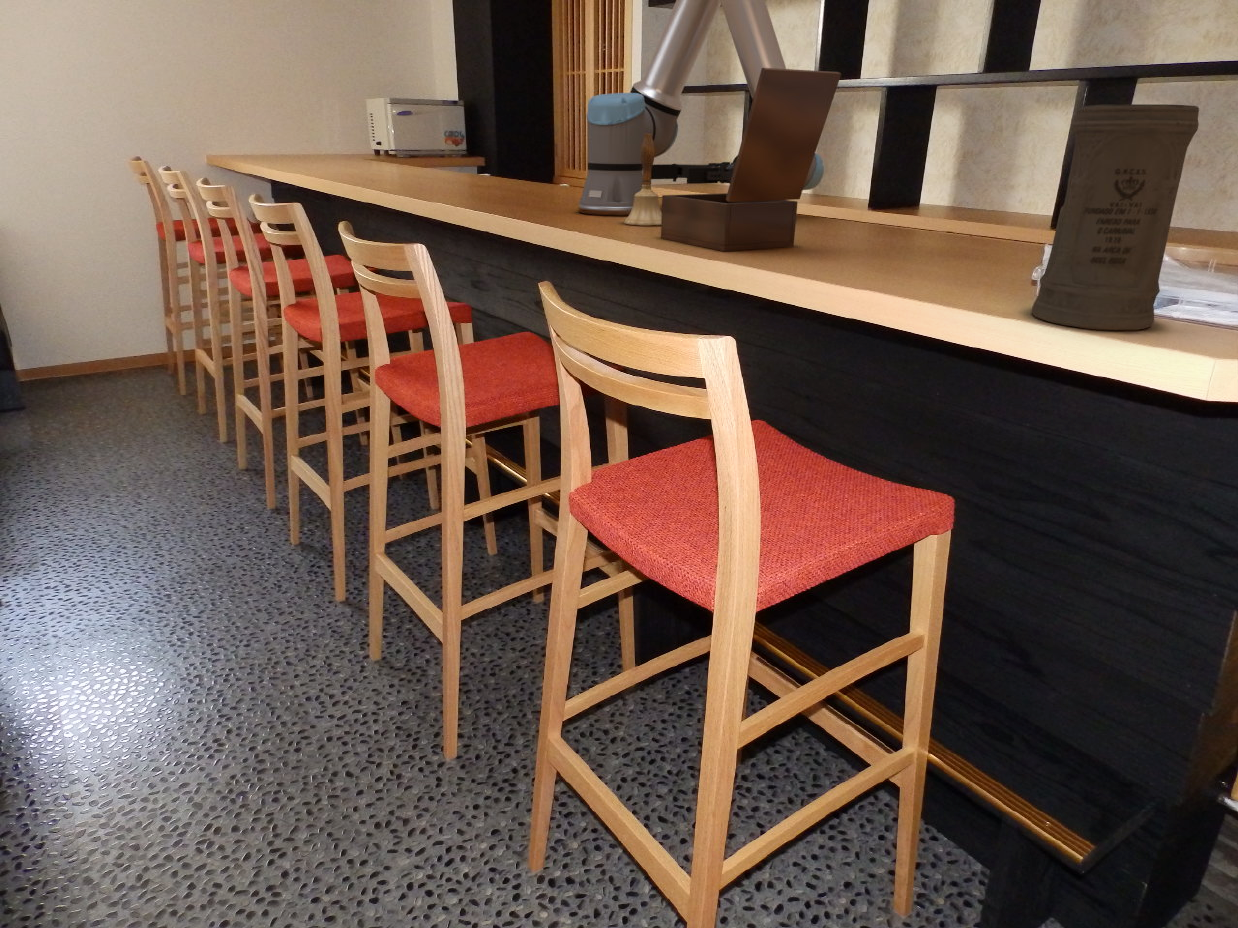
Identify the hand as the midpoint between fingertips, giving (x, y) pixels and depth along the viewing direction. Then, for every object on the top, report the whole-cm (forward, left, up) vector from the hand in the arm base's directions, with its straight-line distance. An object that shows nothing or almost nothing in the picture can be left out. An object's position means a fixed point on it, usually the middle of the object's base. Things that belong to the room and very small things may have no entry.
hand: (667, 174), depth 158 cm
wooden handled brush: (+4, -2, -9) cm, 10 cm away
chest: (+16, +24, -9) cm, 31 cm away
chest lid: (+20, +35, +7) cm, 41 cm away
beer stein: (+38, +82, -9) cm, 91 cm away
